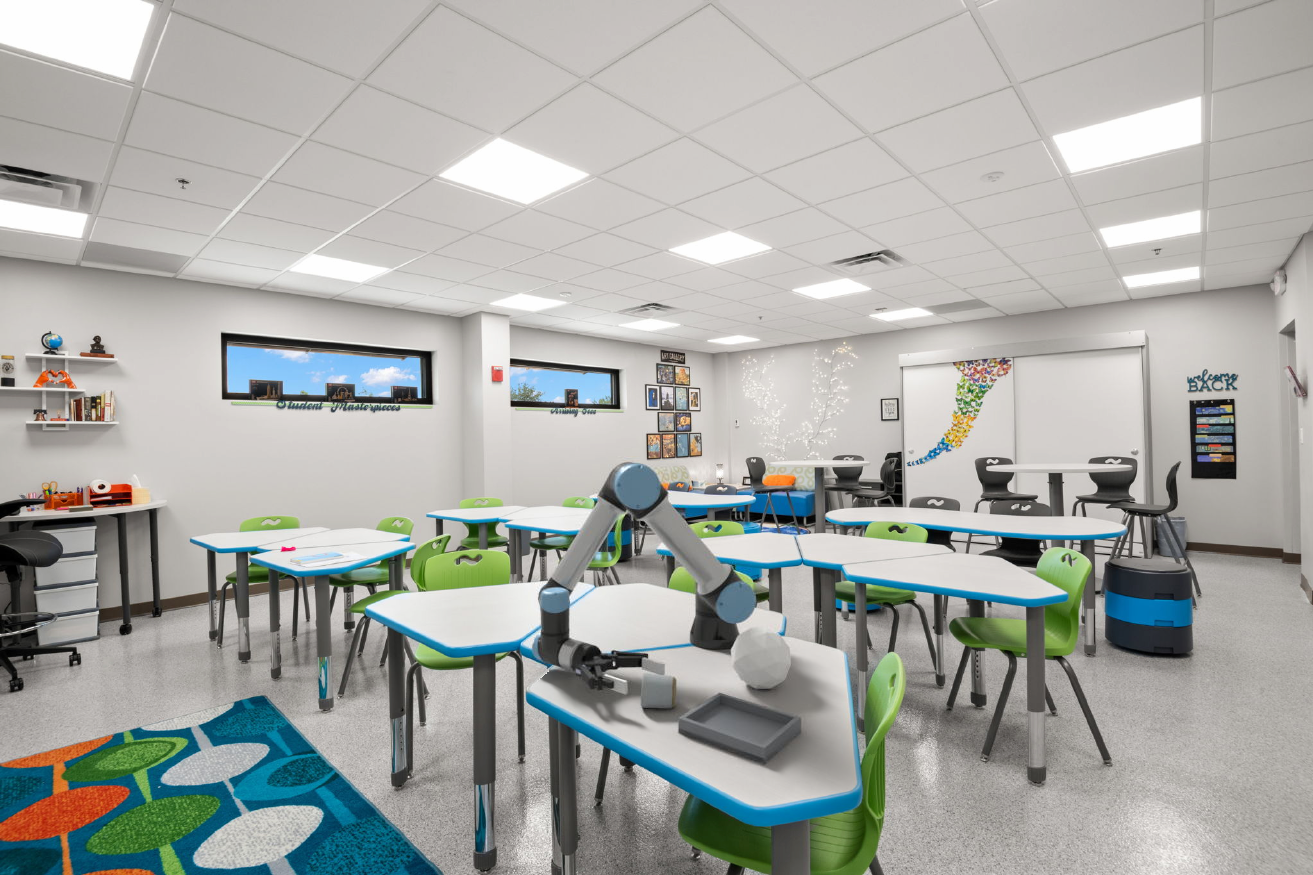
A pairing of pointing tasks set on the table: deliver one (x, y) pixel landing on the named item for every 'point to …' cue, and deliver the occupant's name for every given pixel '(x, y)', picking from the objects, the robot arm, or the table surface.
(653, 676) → the grey rounded cylinder
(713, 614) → the robot arm
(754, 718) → the tray
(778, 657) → the geometric shape
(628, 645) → the table surface
